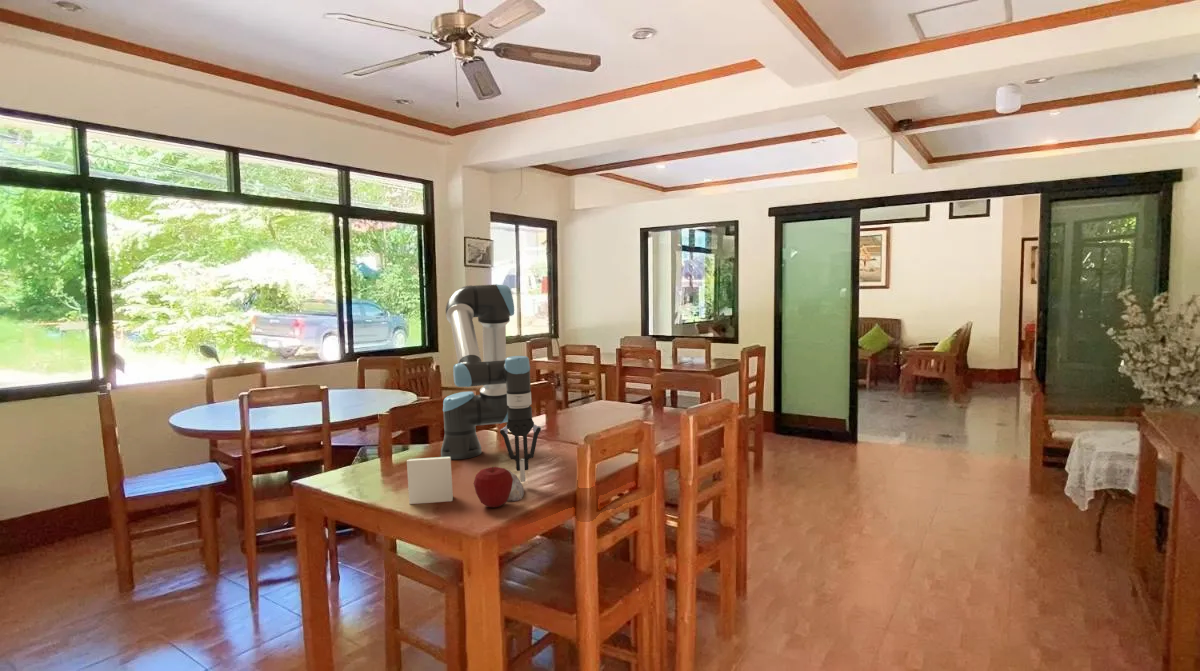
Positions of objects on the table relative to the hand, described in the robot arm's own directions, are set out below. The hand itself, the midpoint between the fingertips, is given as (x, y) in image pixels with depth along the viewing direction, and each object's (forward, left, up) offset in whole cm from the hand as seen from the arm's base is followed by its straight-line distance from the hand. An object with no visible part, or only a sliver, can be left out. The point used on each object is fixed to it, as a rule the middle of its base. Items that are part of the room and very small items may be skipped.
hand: (522, 480), depth 198 cm
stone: (+4, -5, -3) cm, 7 cm away
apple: (+15, -8, -3) cm, 17 cm away
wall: (+8, -27, -2) cm, 28 cm away
